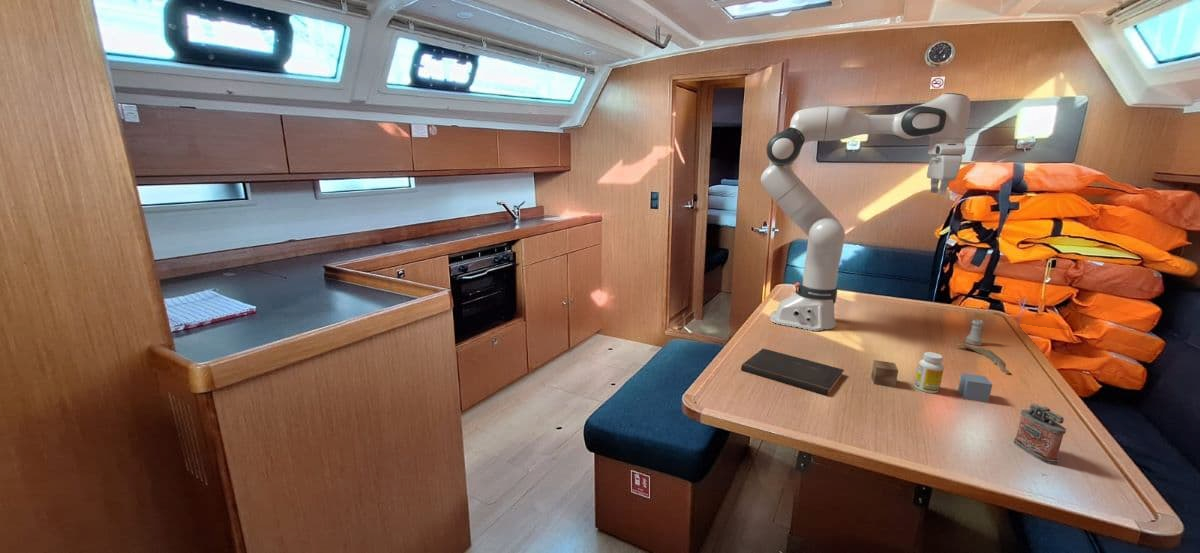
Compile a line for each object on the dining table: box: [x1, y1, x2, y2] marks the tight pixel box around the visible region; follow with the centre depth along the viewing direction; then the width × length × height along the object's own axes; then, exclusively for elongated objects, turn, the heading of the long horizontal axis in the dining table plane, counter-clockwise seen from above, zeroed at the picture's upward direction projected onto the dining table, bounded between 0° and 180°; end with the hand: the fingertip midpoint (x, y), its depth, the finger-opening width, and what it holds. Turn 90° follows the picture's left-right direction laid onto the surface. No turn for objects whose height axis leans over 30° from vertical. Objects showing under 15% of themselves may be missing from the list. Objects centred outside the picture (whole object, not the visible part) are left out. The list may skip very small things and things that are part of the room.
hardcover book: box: [740, 348, 845, 397], centre depth 132 cm, size 16×23×2 cm
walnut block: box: [870, 359, 899, 388], centre depth 127 cm, size 5×5×5 cm
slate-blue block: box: [957, 372, 993, 403], centre depth 120 cm, size 5×5×5 cm
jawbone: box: [954, 342, 1012, 376], centre depth 142 cm, size 9×20×2 cm, turn 3°
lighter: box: [1013, 402, 1067, 465], centre depth 96 cm, size 8×3×10 cm, turn 5°
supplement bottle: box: [914, 351, 945, 394], centre depth 123 cm, size 5×5×10 cm
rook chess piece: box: [964, 318, 985, 346], centre depth 154 cm, size 4×4×8 cm
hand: (937, 193), depth 150 cm, fingers open, 8 cm apart
